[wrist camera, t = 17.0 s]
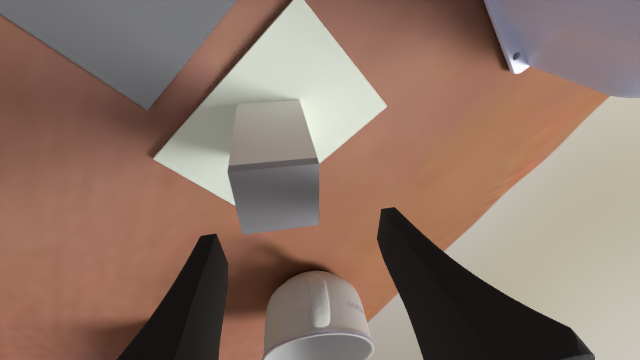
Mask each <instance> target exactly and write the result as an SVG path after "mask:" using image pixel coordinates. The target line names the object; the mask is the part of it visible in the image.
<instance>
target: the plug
mask: <svg viewBox="0 0 640 360" xmlns="http://www.w3.org/2000/svg"><path fill="white" fill-rule="evenodd" d="M227 173H228V177H229V181H230V185H231V189H232V193H233V197H234V201H235V205H236V210H237V214H238V218H239V222H240V226H241V230H242V234H251V233H259V232H267V231H275V230H283V229H291V228H298V227H306V226H314V225H319V161H318V158H317V155H316V151H315V148H314V145H313V142H312V138H311V135H310V132H309V129H308V125H307V122H306V119H305V116H304V112H303V109H302V106H301V103H300V100H284V101H268V102H252V103H237V107H236V115H235V122H234V129H233V136H232V143H231V150H230V157H229V164H228V171H227Z"/></svg>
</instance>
